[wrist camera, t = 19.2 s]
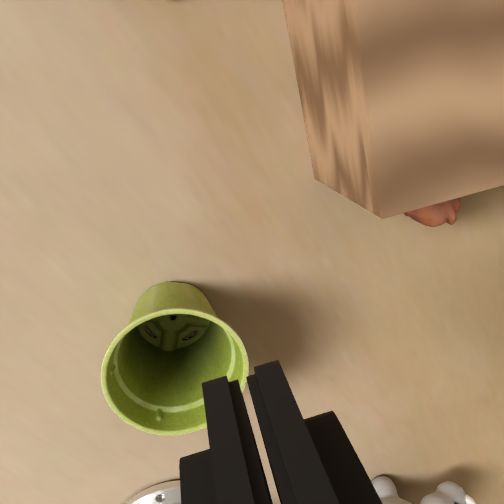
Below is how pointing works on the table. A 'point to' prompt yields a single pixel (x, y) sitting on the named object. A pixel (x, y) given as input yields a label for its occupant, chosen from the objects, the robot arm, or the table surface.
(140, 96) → the table surface
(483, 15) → the wood grain box
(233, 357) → the plant pot
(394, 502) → the round bodied animal figurine
